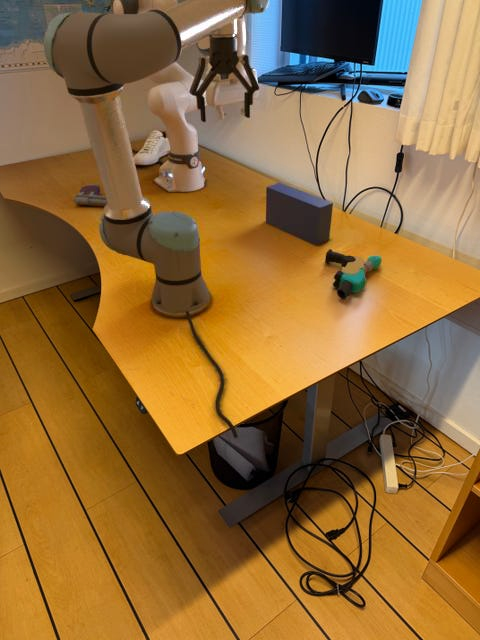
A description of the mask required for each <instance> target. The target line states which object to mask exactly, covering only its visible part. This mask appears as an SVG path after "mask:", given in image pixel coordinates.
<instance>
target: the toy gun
mask: <svg viewBox="0 0 480 640" xmlns="http://www.w3.org/2000/svg"><path fill="white" fill-rule="evenodd" d="M73 203H75V204H76V205H80V206H81V205H82V206H83V205H84V206H93V207H95V206H96V207H105V205H106V204H107V200H106V197H105V195H102V196H101V187H100V185H99V184H86V185H84V186H81V188H80V190H79V193H77V194H76V195H75V198H74V200H73Z"/></svg>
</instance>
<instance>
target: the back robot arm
mask: <svg viewBox="0 0 480 640" xmlns="http://www.w3.org/2000/svg"><path fill="white" fill-rule="evenodd" d="M177 4H178V1H177V0H112V3H111V6H112V7H111V8H112V9H111V10H112V14H142V13H146V12H148V11H150V10H153V9H159V10H162V11H165V10H167V9H169V8H171V7H173V6H175V5H177ZM235 36H236V38H237V55H238V56H242V55H243V54H245V55H246V49H247V46H248V43H249V31H248V28H247V26H246V20H245V15H243V16H241V17H239V18H237V34H235ZM210 37H212V35H208V36H207V37H205V38H203V39H202V40H200V41H198V42H197V43H195V44H196V47H197V50H198V51H199V53H200V54H201V55H203V56H204V57H206V58H209V57H210V40H209V38H210ZM236 68H237V69H238V70H239V72H240V73H241V75H242V76H243V77H244V78H245V80H246V81H247V82H248V84H249V85H250V86H251V87H252V85H251V83H250V81H249V78H248V76H247V74H246V71H245V69H244V67H243V64H241V63H240V61H239V62H238V64H237V65H236ZM251 69H252V72H253V74H254V76H255V79H256V81H257V83H258V84H259V82H258V72H257V70H256V69H255V68H254V67H251ZM209 71H210V69H208V70H207V71H206V72H205V77H206V76H207V75H208V73H209ZM148 77H149V79H150V80H151V81H152V82H153V83H154V84H156V85H155V86H153V87H151V88H150V89H149V91H148V94H147V105H148V108H149V110H150V111H151V112H152V113H153V115H155V116H156V117H158V118H159V119H160V120H161V121H162V123H163V125H164V126H165V129H166V132H167V135H168V140H169V145H170V151H167V152H169V153H167V155H168V157H167V160H166V161H162V160H160V159H158V161H157V162H158V163H160V164H161V166H159V169H158V171H159V172H158V173H159V176H157V177H156V178H154V180H153V181H154V183H155V184H157V185H158V186H159V187H161V188H162V189H164V190H166V191H167V192H168V193H174V192H175V193H176V192H180V193H181V192H182V193H186V192H187V193H188V192H194V191H198V190H200V189H203V188H204V187H205V182H206V178H205V177H204V172H205V169H206V168H205V166H202V162H201V161H200V160H201V153H200V149H199V142H198V141H199V140H198V130H197V129H196V128H195V126H194V125H193V124H191V123H189V122H187V119H186V116H185V114H187V113H191V112H192V113H193V112H197V111H200V110H199V109H198V108H197V101H196V96H193V95H191V94H190V93H189V91H190V88H191V85H192V83H193V80H194V77H195V75H193V74H191V73H190V72H189V71H187V70H186V69H184V68H183V67H182V65H180V64H179V63H178V62H177V61H176V62H174V63H173V64H171V65H169V66H168V67H166V68H164V69H162V70H160V71H159V72H157V73H155V74H153V75H151V76H148ZM203 81H204V79H201V81H200V83H199V86H198V89H199V87H200V86H201V84H202V83H203ZM198 89H197V90H198ZM259 91H260V89H259V90H258V91H255V92H254V93H253V100H254V99H258V96H259V93H260V92H259ZM244 92H247V90H246V89H245V88H244V86H243V85H242V84H241V83H240V81H239V80H238V79H237V77H236V76H235V75H234V74H233V73H231V74H223V75H219V74H217V75H216V76H215V77H214V79H213V80H212V82H211V83H210V85H209V86H208V88H207V89H206V91H205V92H204V94H203V95H202V96H203V97H204V98H205V107H207V106H209V107H212V108H213V107H215V109H216V111H217V113H218V118H219V120H225V119H227V112H226V113H225V112H224V111H223V109H224V106H225V105H230V104H235V103H240V102H242V103H243V105H242V108H240V115H243V116H245V108H244ZM131 149H132V153H133V152H134V153H136V154H137V153H138V152H139V151H138V150H135V149H133V148H131Z"/></svg>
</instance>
